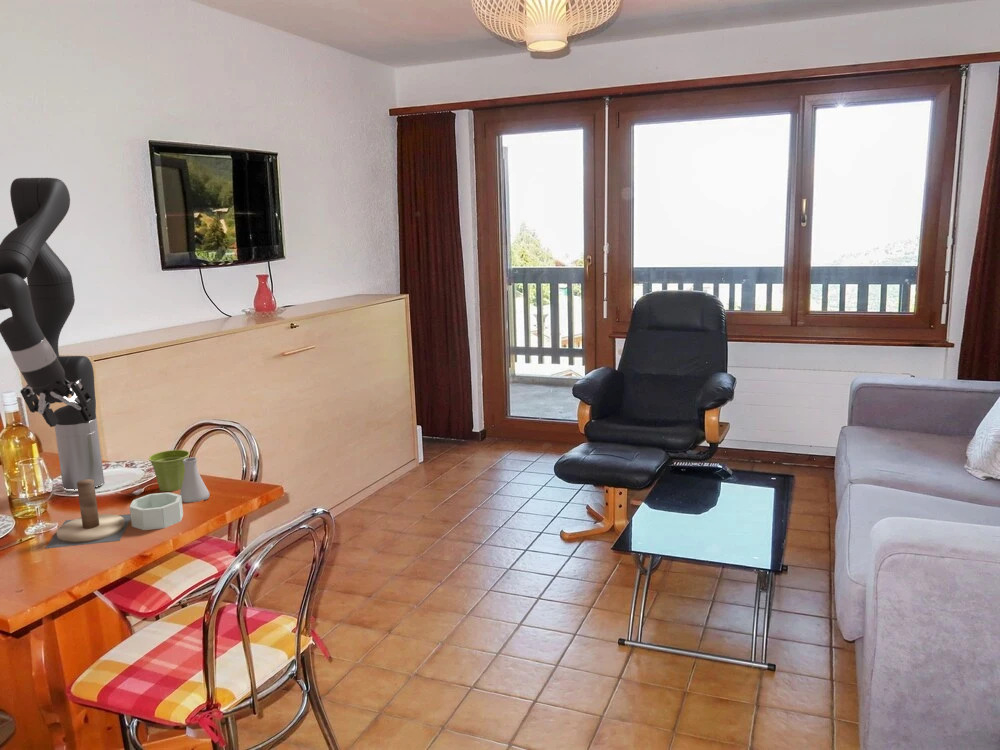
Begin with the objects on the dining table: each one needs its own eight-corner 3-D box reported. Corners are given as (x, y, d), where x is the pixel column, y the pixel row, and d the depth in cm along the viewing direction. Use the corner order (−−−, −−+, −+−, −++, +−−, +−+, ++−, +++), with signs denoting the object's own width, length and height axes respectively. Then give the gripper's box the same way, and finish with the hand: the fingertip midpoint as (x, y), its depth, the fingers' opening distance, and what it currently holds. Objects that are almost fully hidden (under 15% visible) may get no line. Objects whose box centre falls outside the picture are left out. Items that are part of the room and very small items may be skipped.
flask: (186, 493, 191) (182, 454, 189) (215, 493, 190) (211, 454, 188) (172, 504, 184) (167, 463, 182) (201, 505, 183) (197, 464, 181)
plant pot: (143, 491, 192) (139, 458, 190) (174, 479, 200) (171, 447, 198) (170, 497, 188) (167, 463, 186) (201, 485, 196) (198, 452, 194)
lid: (66, 521, 172) (60, 474, 170) (130, 515, 176) (124, 469, 173) (49, 546, 160) (42, 495, 158) (117, 538, 163) (111, 489, 161)
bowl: (138, 516, 177) (135, 495, 176) (185, 511, 179) (183, 490, 178) (129, 533, 167) (126, 511, 166) (179, 528, 170) (176, 506, 168)
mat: (65, 522, 173) (65, 520, 173) (133, 515, 177) (133, 513, 177) (45, 550, 159) (45, 548, 159) (119, 542, 163) (119, 540, 162)
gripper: (76, 349, 169) (108, 410, 177) (19, 356, 172) (53, 416, 180) (56, 367, 163) (90, 430, 171) (-3, 374, 165) (33, 435, 174)
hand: (71, 423), depth 176 cm, fingers open, 8 cm apart
